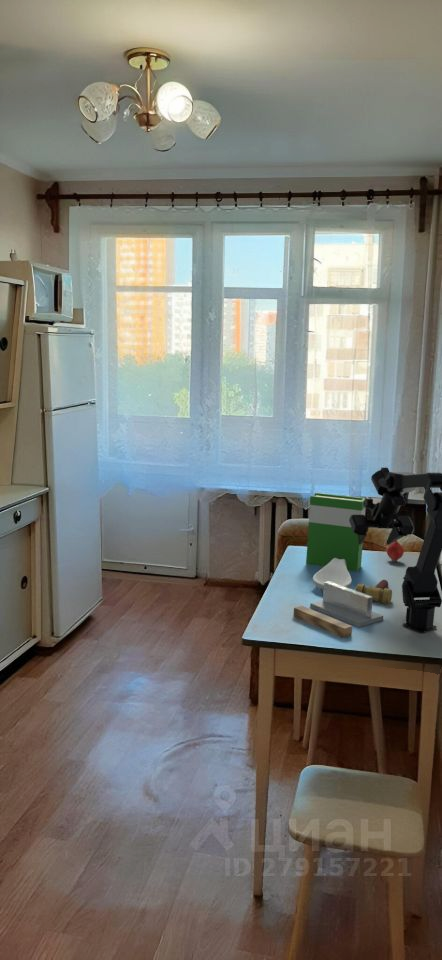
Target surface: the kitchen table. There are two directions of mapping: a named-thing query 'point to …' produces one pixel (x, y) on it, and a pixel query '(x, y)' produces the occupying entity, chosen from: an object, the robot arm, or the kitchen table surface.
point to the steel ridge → (347, 599)
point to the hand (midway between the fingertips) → (373, 543)
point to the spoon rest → (333, 574)
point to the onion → (395, 551)
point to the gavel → (377, 592)
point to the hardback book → (333, 530)
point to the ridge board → (345, 614)
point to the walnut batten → (323, 621)
